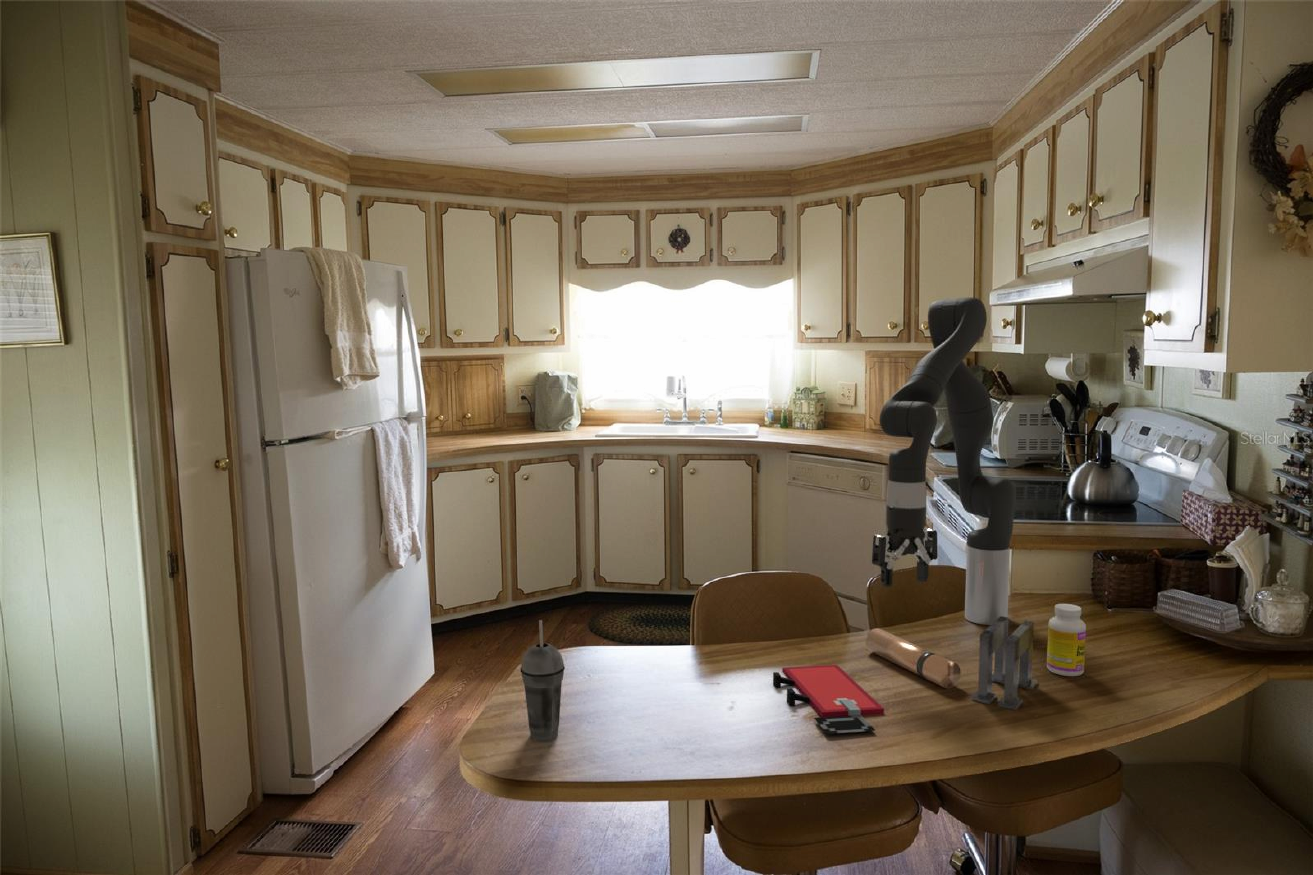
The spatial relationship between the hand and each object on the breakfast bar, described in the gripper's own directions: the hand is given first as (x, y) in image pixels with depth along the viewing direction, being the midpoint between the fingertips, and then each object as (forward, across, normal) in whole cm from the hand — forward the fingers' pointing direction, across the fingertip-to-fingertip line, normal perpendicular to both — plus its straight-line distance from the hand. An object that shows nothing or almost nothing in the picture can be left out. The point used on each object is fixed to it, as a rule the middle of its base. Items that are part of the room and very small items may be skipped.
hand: (904, 584), depth 178 cm
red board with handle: (+17, +24, +8) cm, 30 cm away
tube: (+16, 0, +3) cm, 17 cm away
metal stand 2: (+16, -9, +21) cm, 28 cm away
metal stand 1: (+16, -7, +17) cm, 25 cm away
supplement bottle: (+17, -26, +16) cm, 35 cm away
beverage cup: (+17, +74, 0) cm, 76 cm away
